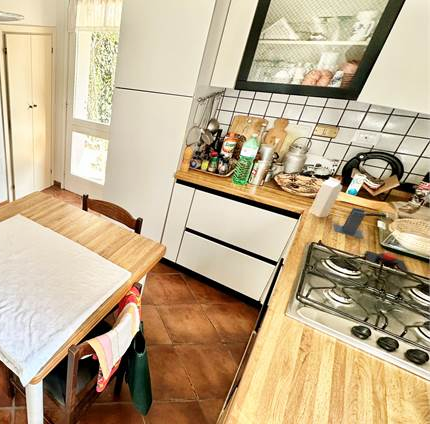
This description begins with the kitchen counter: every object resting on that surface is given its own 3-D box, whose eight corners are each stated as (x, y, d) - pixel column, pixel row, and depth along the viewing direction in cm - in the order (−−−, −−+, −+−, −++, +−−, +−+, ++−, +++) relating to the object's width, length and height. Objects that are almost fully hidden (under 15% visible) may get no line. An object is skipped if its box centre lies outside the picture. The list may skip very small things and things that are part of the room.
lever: (388, 216, 144) (389, 211, 143) (390, 220, 140) (391, 215, 140) (352, 213, 151) (353, 209, 151) (353, 217, 148) (354, 213, 147)
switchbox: (400, 264, 132) (406, 257, 130) (405, 276, 125) (411, 269, 123) (363, 254, 138) (368, 247, 136) (366, 265, 131) (371, 257, 129)
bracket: (360, 232, 154) (373, 210, 148) (362, 240, 148) (376, 217, 141) (332, 225, 160) (344, 204, 154) (333, 232, 153) (345, 210, 147)
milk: (317, 218, 166) (336, 181, 155) (307, 213, 171) (325, 177, 160) (327, 217, 167) (346, 180, 156) (316, 212, 172) (334, 176, 162)
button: (393, 258, 130) (395, 254, 129) (394, 262, 127) (397, 258, 126) (381, 254, 132) (384, 251, 131) (383, 258, 129) (385, 255, 128)
